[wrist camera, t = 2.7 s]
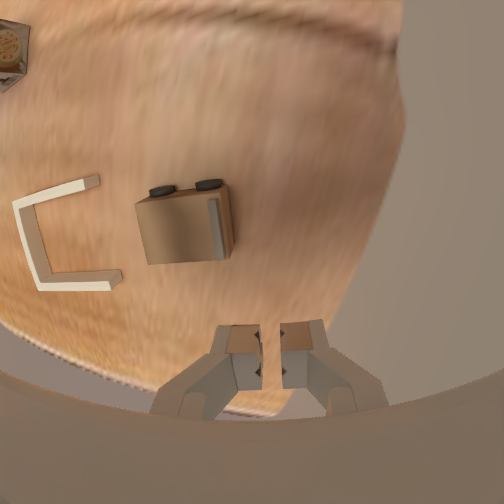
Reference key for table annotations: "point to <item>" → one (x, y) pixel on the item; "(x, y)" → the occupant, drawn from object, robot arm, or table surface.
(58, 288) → the bay
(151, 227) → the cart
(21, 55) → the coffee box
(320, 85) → the table surface
